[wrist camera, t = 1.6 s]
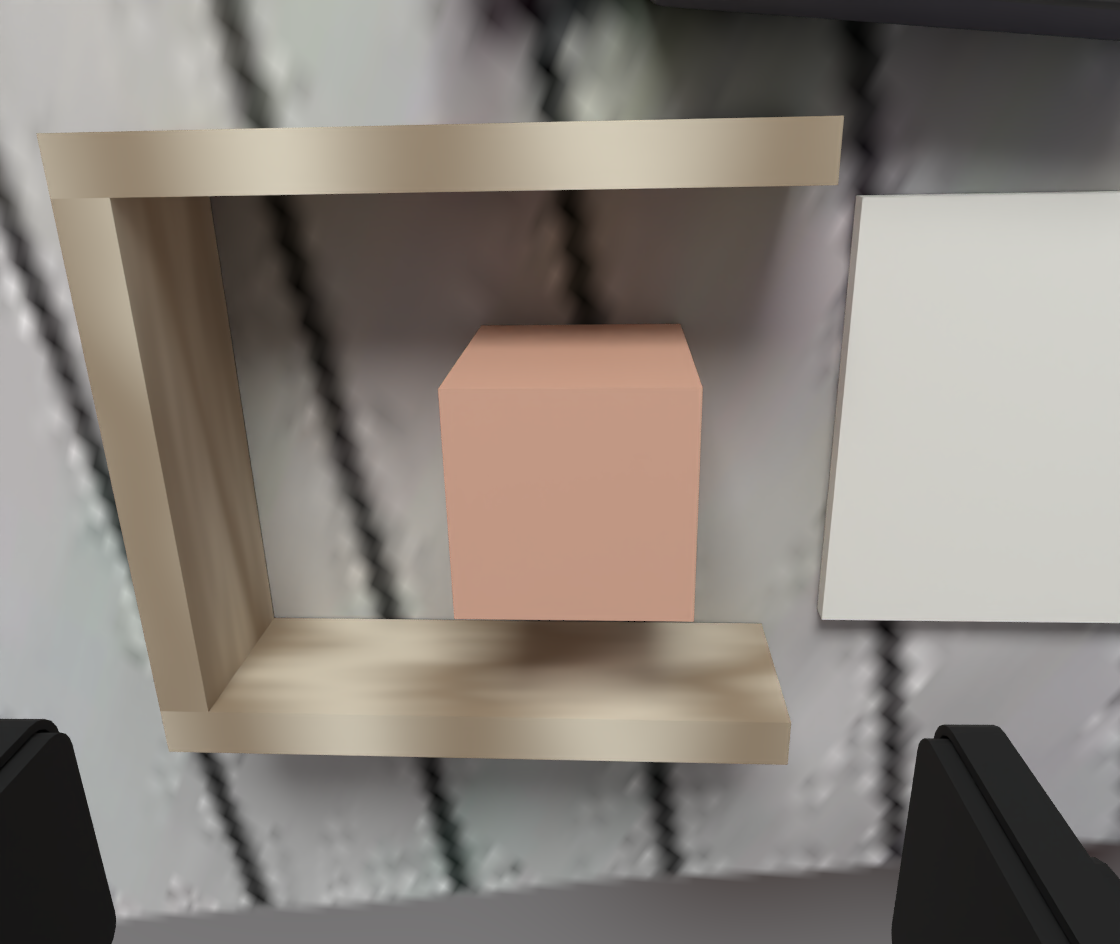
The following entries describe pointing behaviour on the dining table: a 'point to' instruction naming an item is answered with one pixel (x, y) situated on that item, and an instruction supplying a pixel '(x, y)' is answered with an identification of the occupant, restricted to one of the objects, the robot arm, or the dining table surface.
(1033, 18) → the calculator
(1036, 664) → the dining table surface
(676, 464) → the block
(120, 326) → the u-shaped frame
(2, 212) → the dining table surface
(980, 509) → the mat
